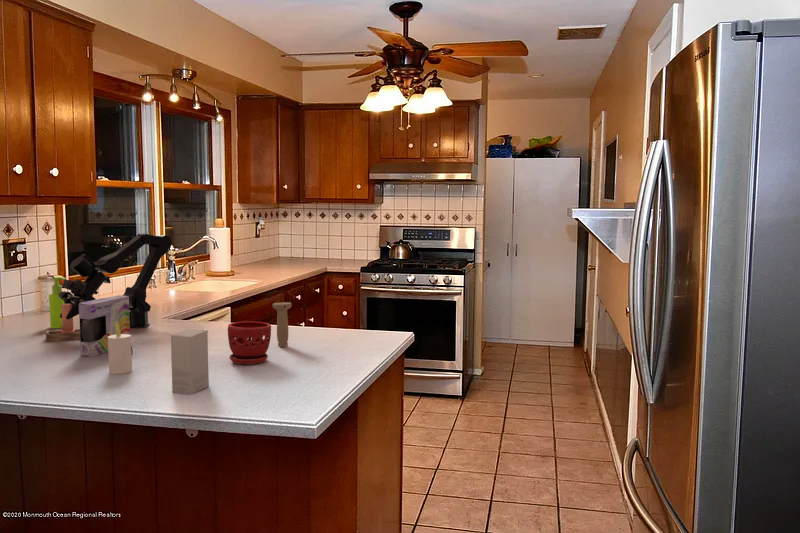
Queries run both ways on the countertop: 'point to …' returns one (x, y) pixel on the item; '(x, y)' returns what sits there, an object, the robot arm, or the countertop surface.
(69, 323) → the slider knob
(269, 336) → the plant pot
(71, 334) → the track
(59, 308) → the soap dispenser
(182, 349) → the skincare box
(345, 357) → the countertop surface
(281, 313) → the handle
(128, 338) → the candle
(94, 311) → the cake pan box
